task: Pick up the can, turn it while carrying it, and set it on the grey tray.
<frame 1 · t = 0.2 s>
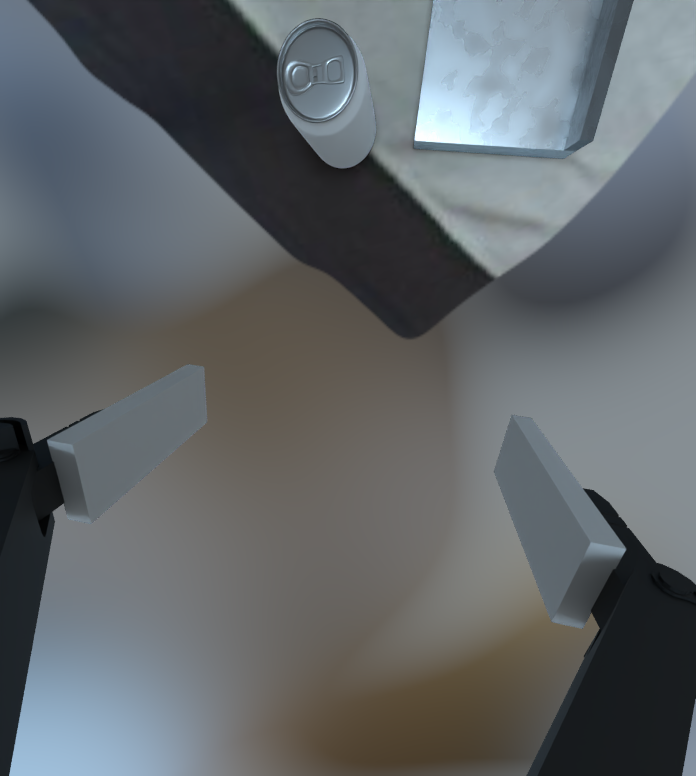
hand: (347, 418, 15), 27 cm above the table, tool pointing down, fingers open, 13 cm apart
grey tray: (514, 17, 30), on the table
can: (344, 132, 35), on the table
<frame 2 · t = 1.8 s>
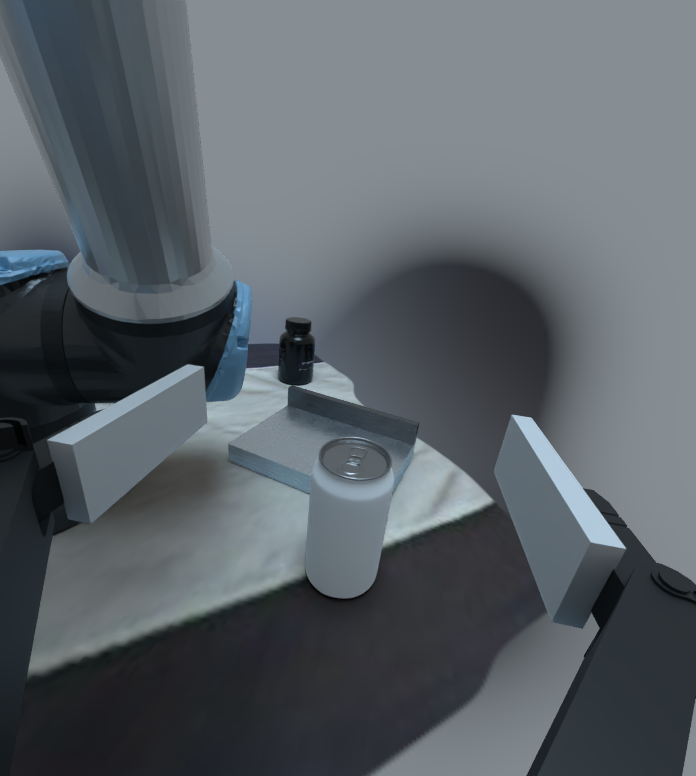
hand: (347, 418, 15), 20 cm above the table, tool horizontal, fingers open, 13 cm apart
grey tray: (325, 458, 47), on the table
supplement bottle: (295, 379, 71), on the table
can: (340, 569, 32), on the table
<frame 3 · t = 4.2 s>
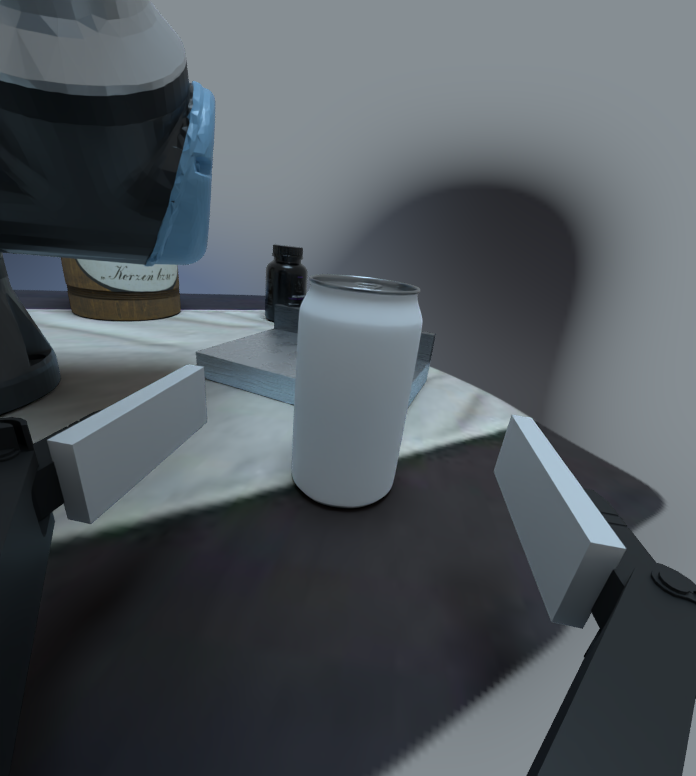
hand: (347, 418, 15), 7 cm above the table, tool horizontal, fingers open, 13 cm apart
wooden container: (130, 312, 56), on the table
grey tray: (320, 378, 37), on the table
supplement bottle: (285, 320, 62), on the table
can: (341, 479, 23), on the table
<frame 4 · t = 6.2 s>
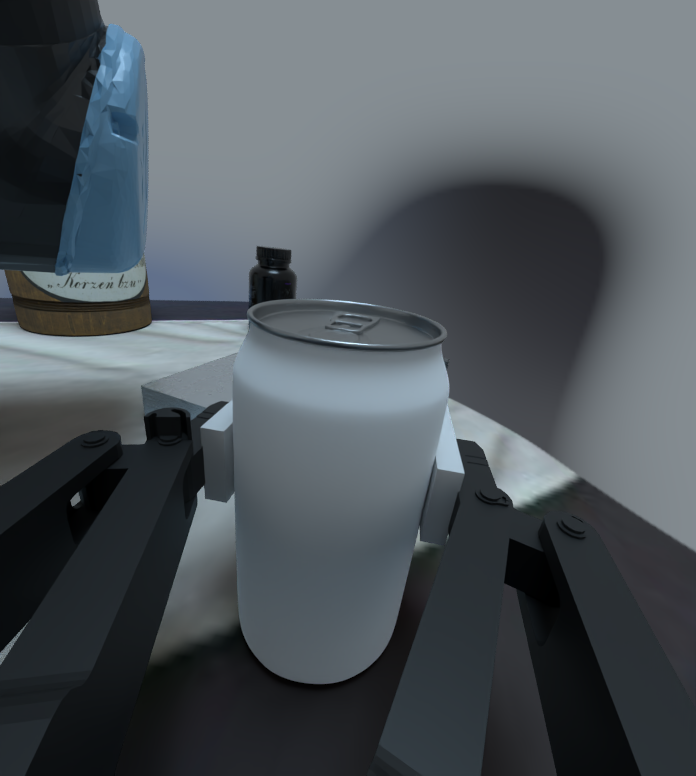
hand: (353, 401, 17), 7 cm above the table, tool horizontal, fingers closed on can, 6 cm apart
wooden container: (91, 324, 49), on the table
grey tray: (303, 415, 30), on the table
supplement bottle: (271, 332, 54), on the table
can: (318, 604, 15), on the table, touching gripper
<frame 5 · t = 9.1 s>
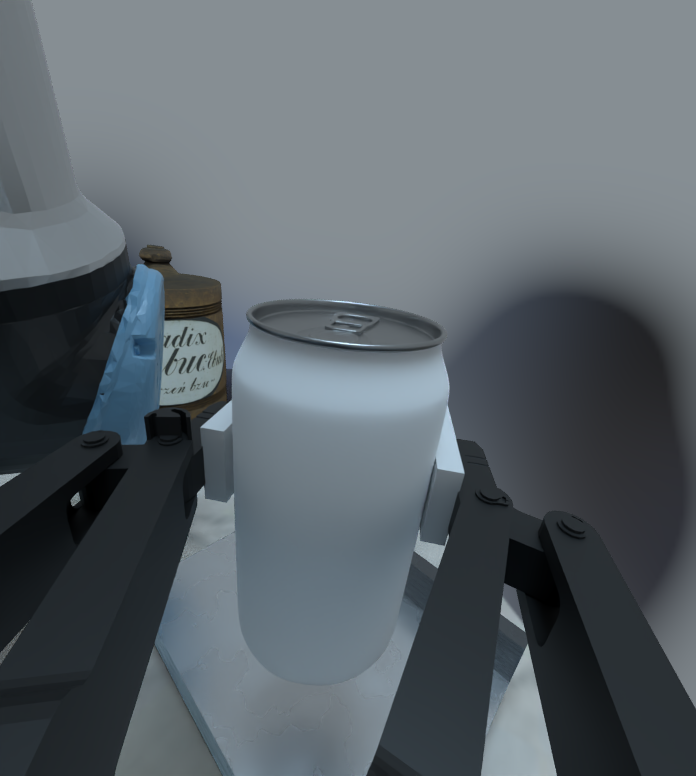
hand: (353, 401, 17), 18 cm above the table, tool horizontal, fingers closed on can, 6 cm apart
wooden container: (172, 410, 51), on the table
grey tray: (312, 651, 23), on the table
can: (318, 605, 15), point 11 cm above the table, touching gripper
when the fingers open (11 cm above the table, at t = 11.7 s): can drops 1 cm, resting on grey tray.
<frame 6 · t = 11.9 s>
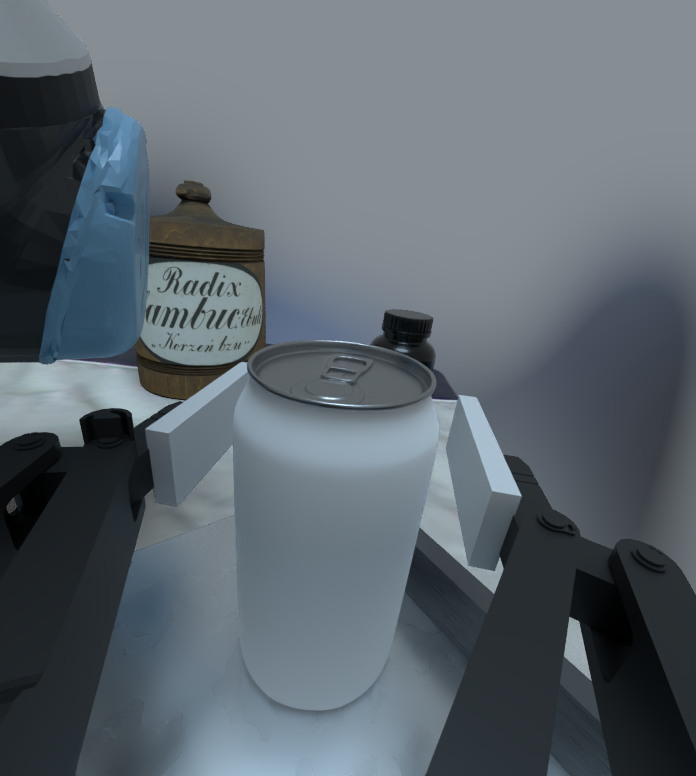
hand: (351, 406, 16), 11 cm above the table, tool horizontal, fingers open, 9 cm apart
wooden container: (206, 378, 46), on the table
grey tray: (305, 729, 14), on the table
supplement bottle: (389, 423, 39), on the table
can: (316, 628, 15), point 2 cm above the table, touching grey tray
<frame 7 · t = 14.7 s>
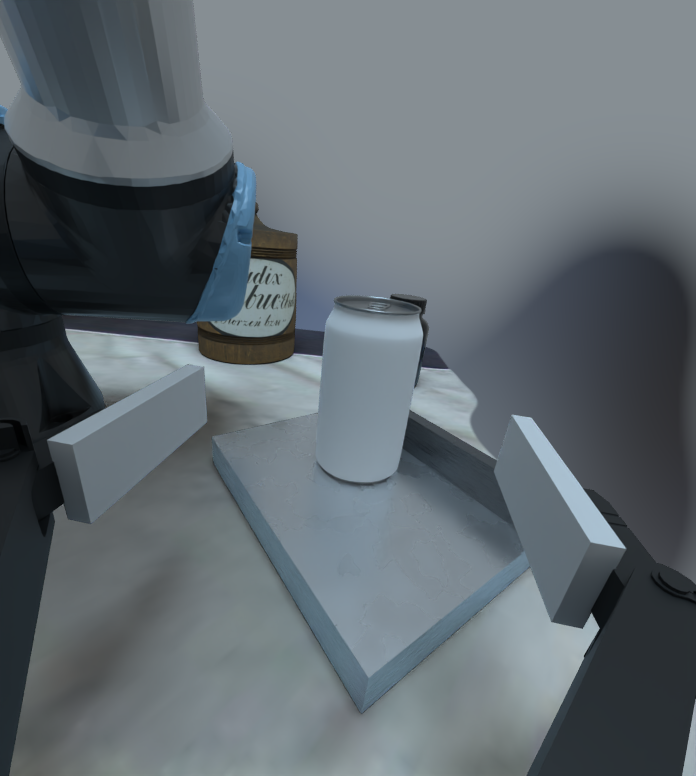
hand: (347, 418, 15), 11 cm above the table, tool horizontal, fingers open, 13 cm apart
wooden container: (248, 351, 57), on the table
grey tray: (352, 507, 26), on the table
supplement bottle: (394, 382, 51), on the table
can: (356, 462, 27), point 2 cm above the table, touching grey tray
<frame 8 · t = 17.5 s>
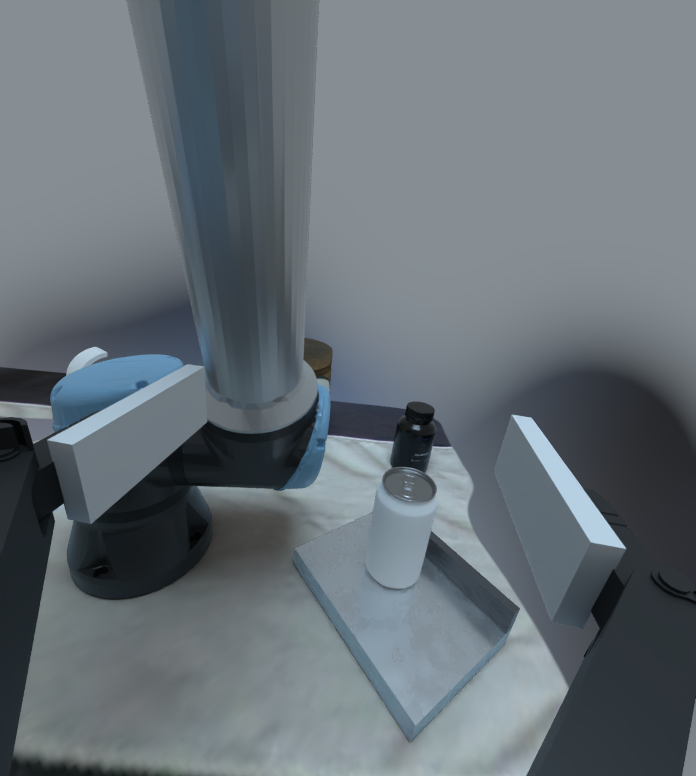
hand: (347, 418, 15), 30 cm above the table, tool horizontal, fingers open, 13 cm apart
headphone stand: (95, 409, 72), on the table
wooden container: (289, 433, 71), on the table
grey tray: (390, 600, 40), on the table
supplement bottle: (408, 466, 65), on the table
can: (391, 567, 41), point 2 cm above the table, touching grey tray
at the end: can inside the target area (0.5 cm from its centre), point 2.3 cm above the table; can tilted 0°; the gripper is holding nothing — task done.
